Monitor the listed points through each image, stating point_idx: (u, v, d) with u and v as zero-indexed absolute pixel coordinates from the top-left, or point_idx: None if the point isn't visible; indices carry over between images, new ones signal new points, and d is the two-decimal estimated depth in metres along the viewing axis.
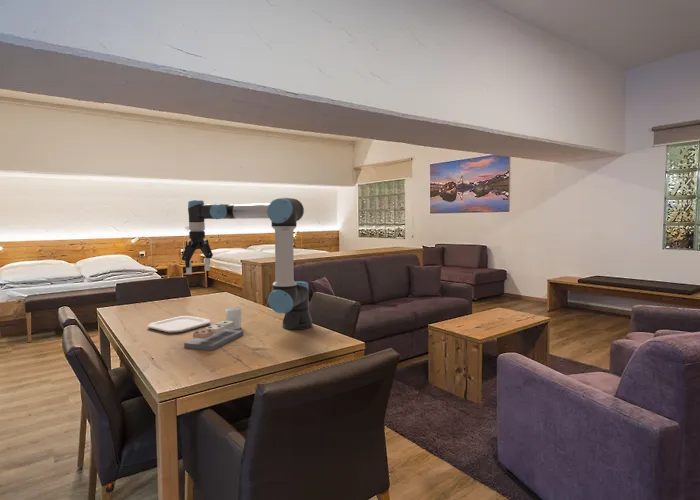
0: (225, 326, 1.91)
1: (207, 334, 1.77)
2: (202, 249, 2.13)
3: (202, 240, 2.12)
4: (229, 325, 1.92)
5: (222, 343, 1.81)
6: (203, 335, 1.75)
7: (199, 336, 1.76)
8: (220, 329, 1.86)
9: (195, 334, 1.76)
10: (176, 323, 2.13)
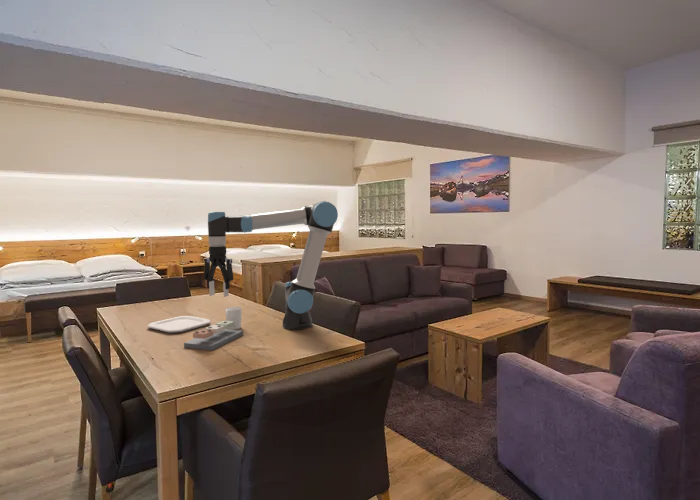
0: (225, 326, 1.91)
1: (207, 334, 1.77)
2: None
3: (221, 256, 1.86)
4: (229, 325, 1.92)
5: (222, 343, 1.81)
6: (203, 335, 1.75)
7: (199, 336, 1.76)
8: (220, 329, 1.86)
9: (195, 334, 1.76)
10: (176, 323, 2.13)
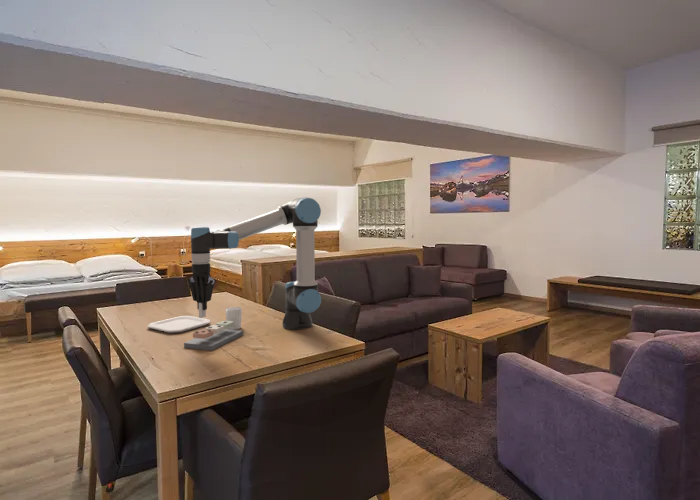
0: (225, 326, 1.91)
1: (207, 334, 1.77)
2: None
3: (205, 275, 1.75)
4: (229, 325, 1.92)
5: (222, 343, 1.81)
6: (203, 335, 1.75)
7: (199, 336, 1.76)
8: (220, 329, 1.86)
9: (195, 334, 1.76)
10: (176, 323, 2.13)
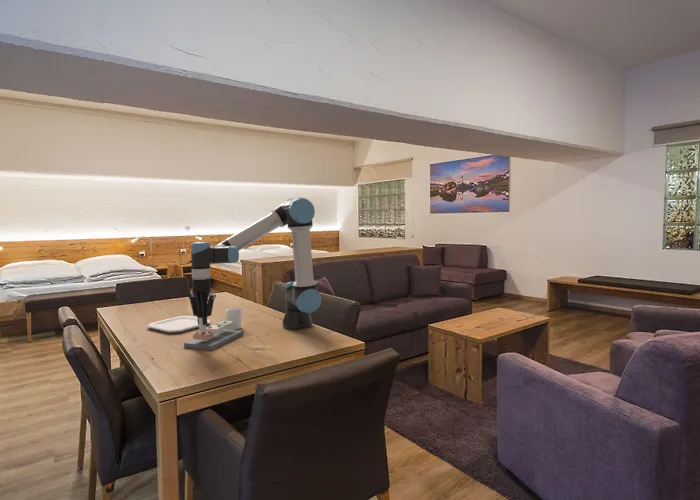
0: (225, 326, 1.91)
1: (207, 335, 1.77)
2: None
3: (206, 290, 1.75)
4: (229, 325, 1.92)
5: (222, 343, 1.81)
6: (203, 336, 1.75)
7: (199, 337, 1.76)
8: (220, 329, 1.86)
9: (195, 335, 1.77)
10: (176, 323, 2.13)
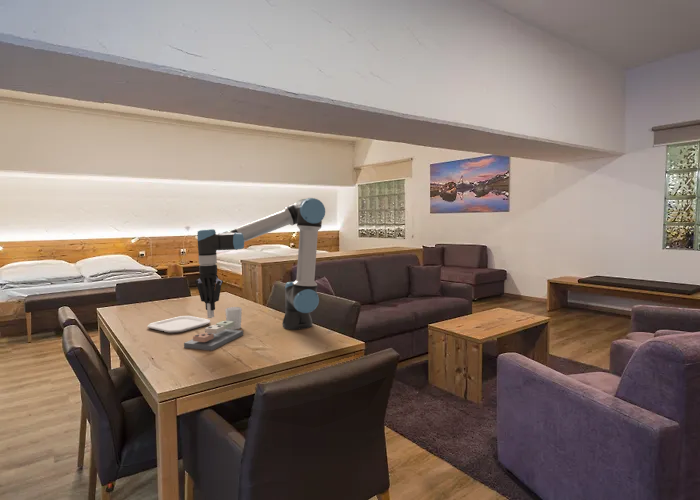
0: (225, 326, 1.91)
1: (207, 337, 1.77)
2: None
3: (213, 276, 1.79)
4: (229, 325, 1.92)
5: (222, 343, 1.81)
6: (203, 338, 1.75)
7: (199, 339, 1.76)
8: (220, 329, 1.86)
9: (195, 337, 1.77)
10: (176, 323, 2.13)
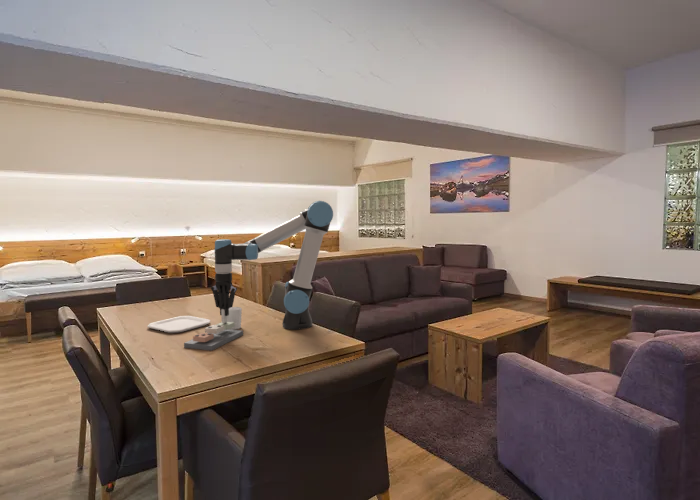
0: (225, 327, 1.91)
1: (207, 337, 1.77)
2: None
3: (228, 283, 1.90)
4: (229, 326, 1.92)
5: (222, 343, 1.81)
6: (203, 338, 1.75)
7: (199, 339, 1.76)
8: (220, 329, 1.86)
9: (195, 337, 1.77)
10: (176, 323, 2.13)
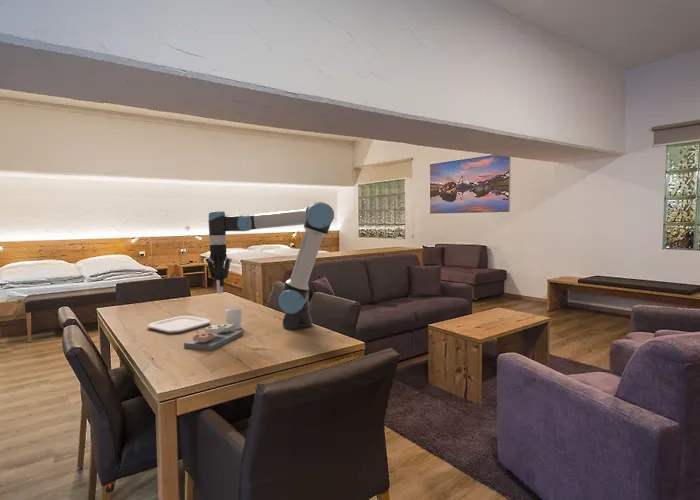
0: (225, 329, 1.91)
1: (207, 337, 1.77)
2: None
3: (222, 254, 1.94)
4: (229, 328, 1.92)
5: (222, 343, 1.81)
6: (203, 338, 1.75)
7: (199, 339, 1.76)
8: (220, 329, 1.86)
9: (195, 337, 1.77)
10: (176, 323, 2.13)
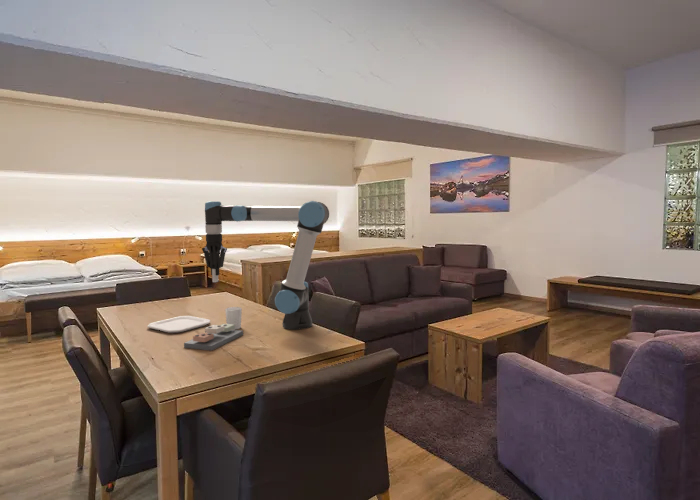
0: (225, 329, 1.91)
1: (207, 337, 1.77)
2: None
3: (218, 243, 1.97)
4: (229, 328, 1.92)
5: (222, 343, 1.81)
6: (203, 338, 1.75)
7: (199, 339, 1.76)
8: (220, 329, 1.86)
9: (195, 337, 1.77)
10: (176, 323, 2.13)
